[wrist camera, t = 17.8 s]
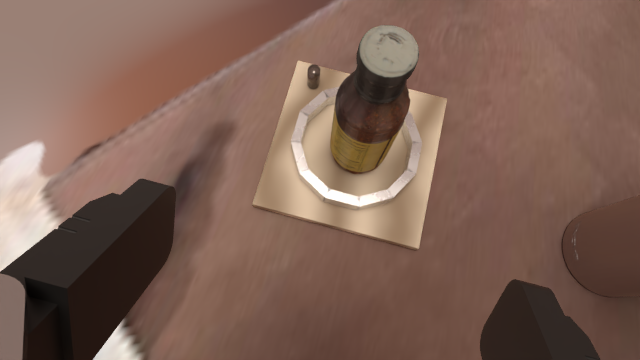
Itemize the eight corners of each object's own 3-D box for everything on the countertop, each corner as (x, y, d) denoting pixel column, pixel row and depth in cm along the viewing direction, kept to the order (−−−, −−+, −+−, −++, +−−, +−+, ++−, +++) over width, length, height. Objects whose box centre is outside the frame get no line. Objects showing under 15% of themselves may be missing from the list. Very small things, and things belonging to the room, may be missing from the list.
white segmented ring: (425, 107, 49) (433, 94, 46) (402, 222, 45) (409, 217, 42) (308, 77, 49) (309, 63, 46) (274, 189, 45) (273, 181, 42)
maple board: (443, 103, 50) (447, 98, 49) (415, 250, 45) (418, 248, 44) (298, 66, 51) (298, 60, 50) (253, 206, 46) (252, 204, 44)
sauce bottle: (364, 114, 48) (408, -10, 29) (395, 159, 47) (462, 59, 28) (315, 142, 47) (327, 30, 28) (346, 188, 45) (380, 105, 26)
